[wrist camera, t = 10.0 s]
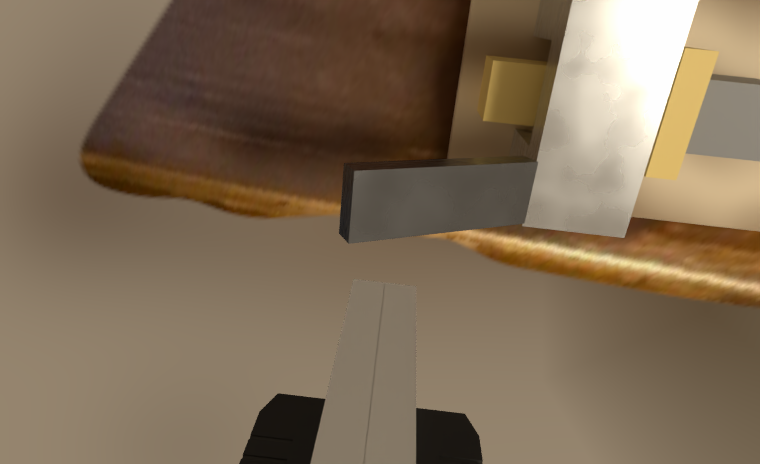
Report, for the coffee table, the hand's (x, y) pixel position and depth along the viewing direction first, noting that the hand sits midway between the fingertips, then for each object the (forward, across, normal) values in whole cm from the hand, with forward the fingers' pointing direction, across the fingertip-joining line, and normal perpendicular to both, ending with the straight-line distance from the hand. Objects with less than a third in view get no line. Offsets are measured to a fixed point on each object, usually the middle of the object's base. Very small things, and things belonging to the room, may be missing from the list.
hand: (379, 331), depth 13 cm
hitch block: (+21, +9, +4) cm, 23 cm away
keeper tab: (+11, +2, 0) cm, 11 cm away
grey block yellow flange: (+20, +11, +4) cm, 23 cm away
